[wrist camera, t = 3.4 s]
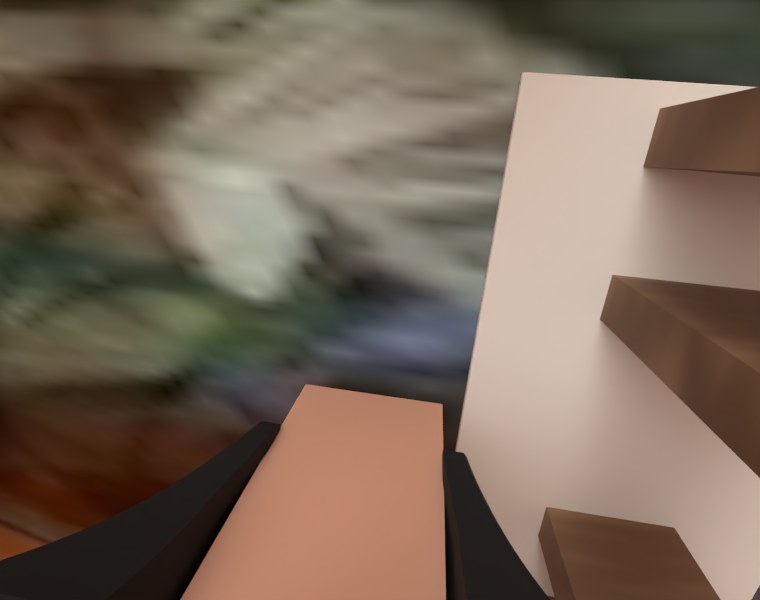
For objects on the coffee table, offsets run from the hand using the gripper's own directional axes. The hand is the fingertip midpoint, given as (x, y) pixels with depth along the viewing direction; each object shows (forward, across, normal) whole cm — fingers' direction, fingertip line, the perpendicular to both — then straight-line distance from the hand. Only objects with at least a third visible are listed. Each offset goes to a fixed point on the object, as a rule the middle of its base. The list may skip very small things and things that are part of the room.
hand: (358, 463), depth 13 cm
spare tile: (+3, 0, 0) cm, 3 cm away
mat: (+4, -10, +1) cm, 11 cm away
